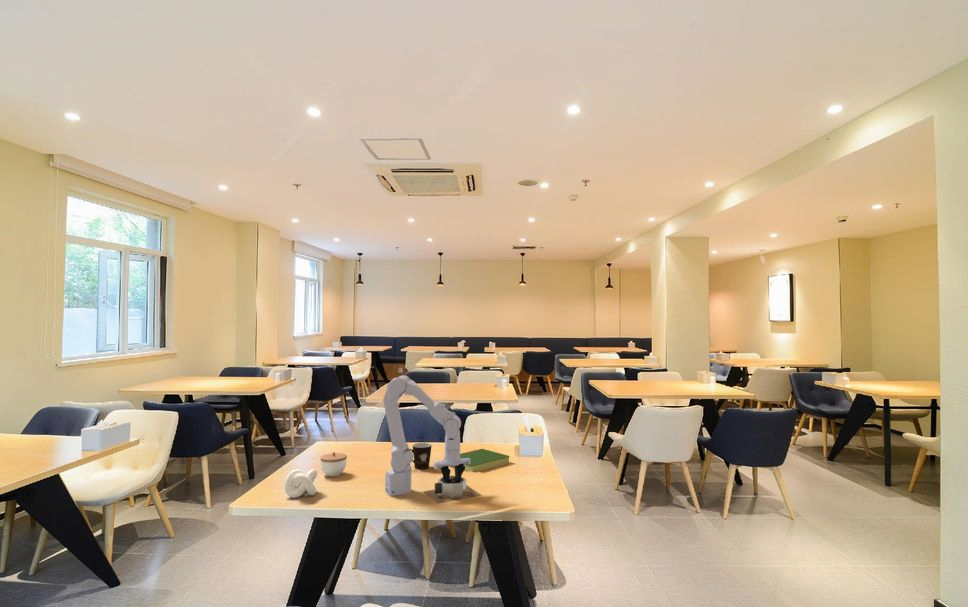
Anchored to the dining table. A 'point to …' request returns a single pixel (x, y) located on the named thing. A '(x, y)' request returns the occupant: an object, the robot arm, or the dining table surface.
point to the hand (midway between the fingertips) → (452, 485)
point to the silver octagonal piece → (450, 488)
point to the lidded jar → (333, 464)
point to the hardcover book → (483, 459)
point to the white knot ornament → (300, 483)
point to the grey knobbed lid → (452, 480)
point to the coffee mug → (421, 455)
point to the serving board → (439, 499)
